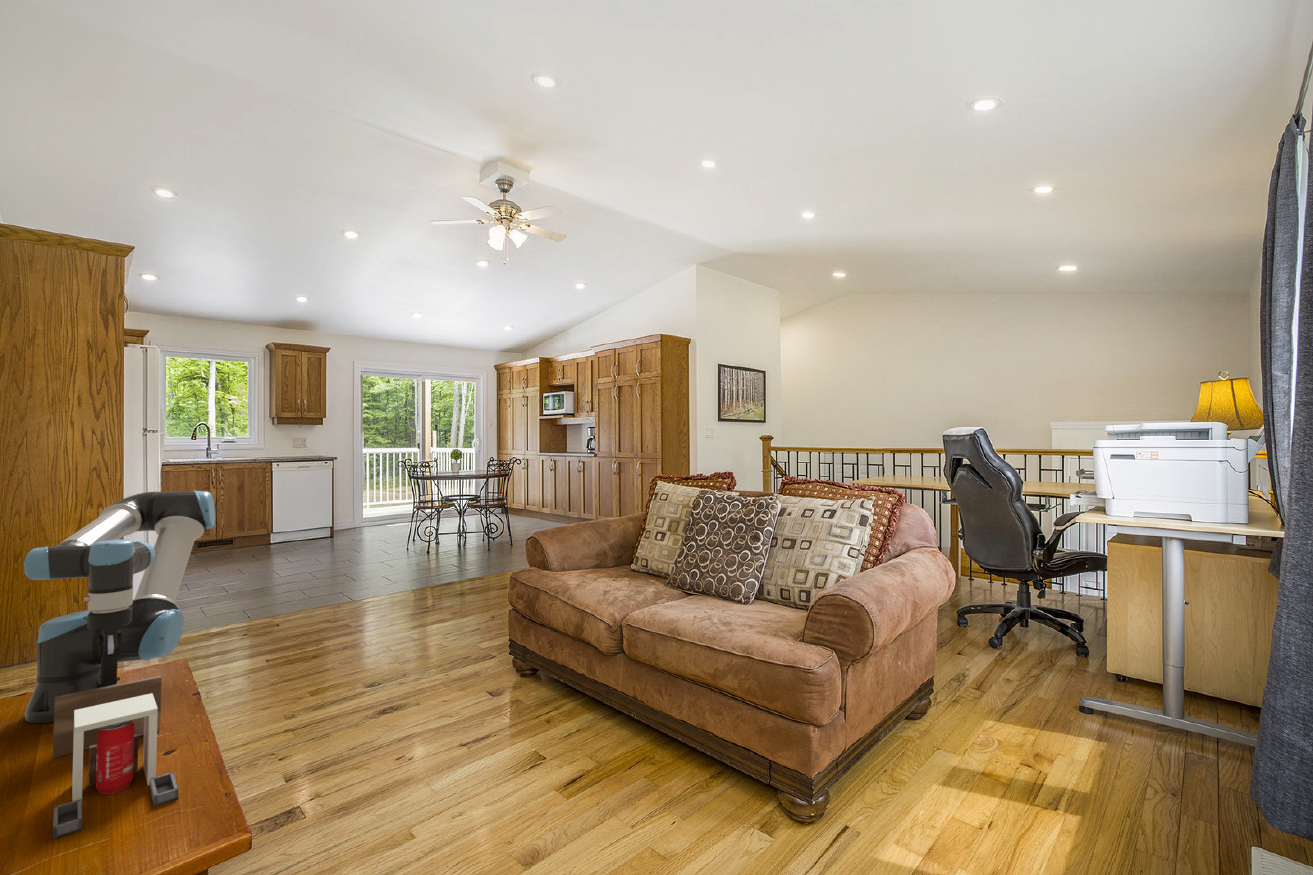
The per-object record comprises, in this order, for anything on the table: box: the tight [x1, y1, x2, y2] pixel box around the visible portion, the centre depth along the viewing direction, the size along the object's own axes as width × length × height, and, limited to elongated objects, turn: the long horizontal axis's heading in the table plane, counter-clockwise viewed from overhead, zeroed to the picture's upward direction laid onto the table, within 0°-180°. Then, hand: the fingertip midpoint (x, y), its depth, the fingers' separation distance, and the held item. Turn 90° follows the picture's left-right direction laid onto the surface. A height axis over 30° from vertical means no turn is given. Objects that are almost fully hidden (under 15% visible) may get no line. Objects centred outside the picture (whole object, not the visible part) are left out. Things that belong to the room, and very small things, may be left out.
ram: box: [52, 675, 162, 786], centre depth 122 cm, size 20×17×12 cm
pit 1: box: [52, 799, 83, 840], centre depth 101 cm, size 8×3×2 cm, turn 45°
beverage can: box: [95, 720, 134, 795], centre depth 112 cm, size 5×5×12 cm
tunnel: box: [71, 693, 158, 804], centre depth 113 cm, size 10×11×14 cm
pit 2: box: [149, 771, 179, 807], centre depth 110 cm, size 8×3×2 cm, turn 45°
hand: (107, 713), depth 134 cm, fingers closed
